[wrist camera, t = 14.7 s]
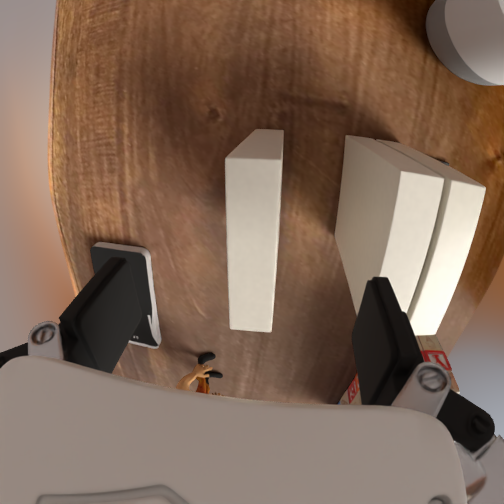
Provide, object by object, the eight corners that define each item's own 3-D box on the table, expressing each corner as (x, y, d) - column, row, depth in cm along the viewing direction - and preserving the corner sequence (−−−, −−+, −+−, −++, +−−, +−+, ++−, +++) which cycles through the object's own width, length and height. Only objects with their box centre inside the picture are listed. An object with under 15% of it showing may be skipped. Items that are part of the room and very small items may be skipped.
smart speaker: (469, -3, 14) (553, -31, 2) (503, 76, 18) (598, 89, 6) (399, 5, 17) (477, -46, 5) (440, 93, 21) (541, 104, 9)
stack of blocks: (367, 410, 43) (374, 472, 32) (333, 408, 43) (336, 474, 32) (428, 317, 33) (461, 392, 22) (388, 312, 33) (415, 394, 22)
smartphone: (145, 253, 31) (159, 349, 38) (150, 247, 32) (162, 343, 39) (89, 245, 32) (111, 338, 39) (94, 240, 33) (115, 332, 40)
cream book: (255, 128, 25) (224, 157, 13) (284, 130, 25) (281, 159, 13) (253, 231, 30) (229, 329, 18) (279, 232, 30) (271, 332, 17)
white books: (345, 134, 24) (400, 170, 12) (449, 152, 23) (543, 202, 11) (334, 236, 29) (361, 336, 17) (429, 244, 28) (491, 331, 16)
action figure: (229, 384, 42) (211, 472, 29) (207, 384, 43) (184, 469, 30) (214, 341, 38) (185, 442, 25) (188, 341, 39) (154, 437, 25)
